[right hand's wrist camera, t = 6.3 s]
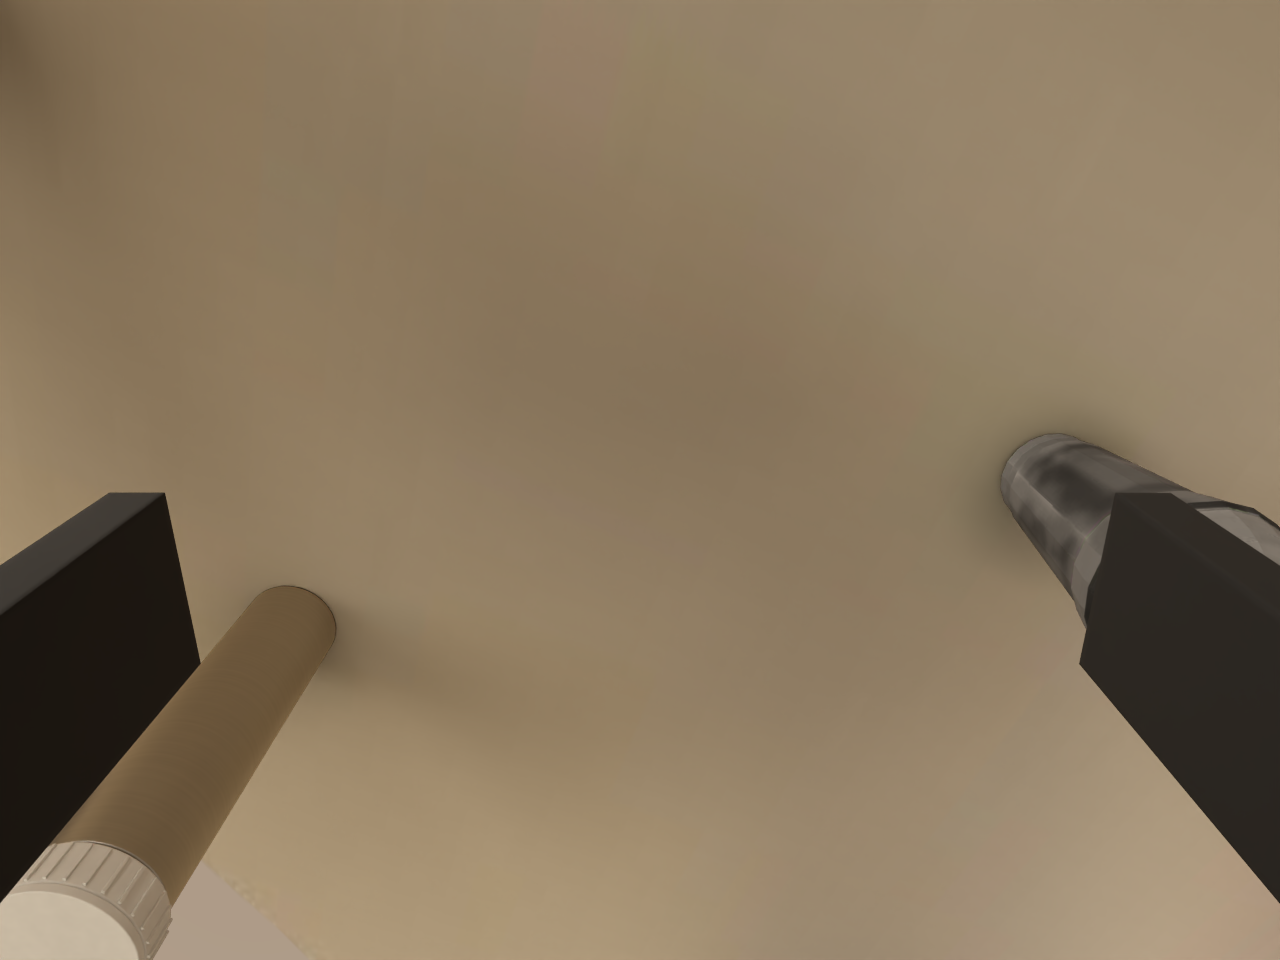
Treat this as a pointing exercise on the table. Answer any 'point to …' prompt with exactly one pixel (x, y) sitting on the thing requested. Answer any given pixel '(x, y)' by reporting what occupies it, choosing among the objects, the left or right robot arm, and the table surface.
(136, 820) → the tan tube
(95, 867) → the lid
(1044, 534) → the beverage cup
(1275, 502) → the table surface
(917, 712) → the table surface
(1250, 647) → the right robot arm
